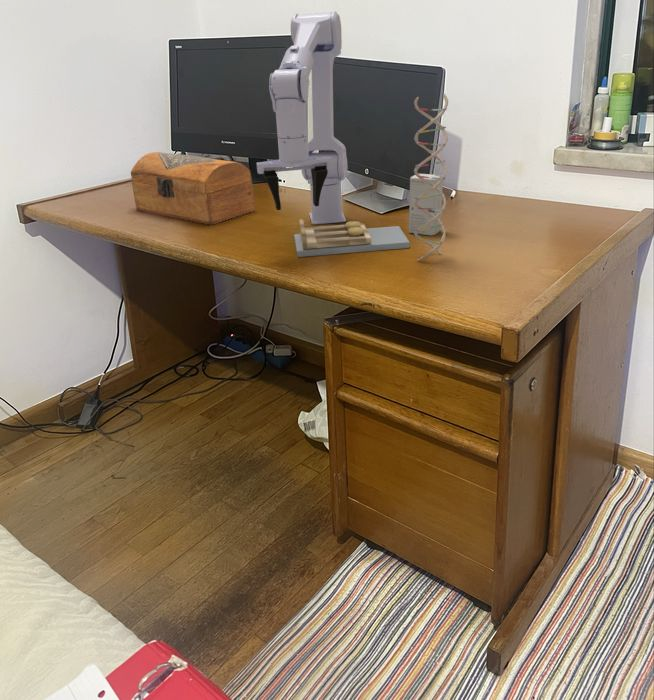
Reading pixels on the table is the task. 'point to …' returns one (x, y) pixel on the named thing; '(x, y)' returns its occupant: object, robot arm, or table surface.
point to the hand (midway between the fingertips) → (297, 207)
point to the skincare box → (424, 204)
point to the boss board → (379, 241)
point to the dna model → (433, 154)
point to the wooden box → (192, 187)
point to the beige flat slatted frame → (331, 236)
